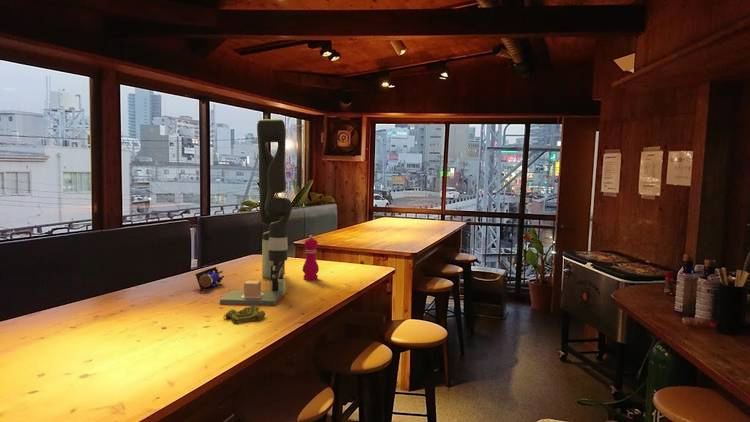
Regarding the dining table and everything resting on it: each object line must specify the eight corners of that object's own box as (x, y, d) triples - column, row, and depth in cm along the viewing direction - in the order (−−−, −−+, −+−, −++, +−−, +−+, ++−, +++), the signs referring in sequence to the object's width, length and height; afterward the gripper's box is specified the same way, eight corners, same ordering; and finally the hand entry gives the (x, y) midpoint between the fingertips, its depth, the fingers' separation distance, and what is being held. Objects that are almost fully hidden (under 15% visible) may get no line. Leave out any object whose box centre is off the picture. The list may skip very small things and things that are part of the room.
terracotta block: (247, 293, 187) (247, 280, 187) (260, 293, 187) (260, 280, 187) (243, 296, 182) (244, 283, 182) (257, 297, 182) (257, 283, 182)
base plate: (231, 294, 192) (231, 290, 192) (282, 295, 191) (283, 291, 191) (219, 303, 178) (219, 299, 178) (274, 305, 178) (274, 300, 177)
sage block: (273, 291, 199) (273, 278, 199) (285, 291, 199) (285, 279, 199) (270, 294, 194) (270, 281, 194) (283, 294, 194) (283, 281, 194)
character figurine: (226, 284, 210) (207, 292, 195) (211, 281, 211) (191, 290, 197) (227, 266, 209) (208, 273, 195) (212, 264, 211) (192, 271, 196)
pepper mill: (300, 277, 224) (301, 234, 222) (315, 276, 227) (316, 233, 225) (305, 281, 217) (305, 236, 216) (320, 280, 220) (321, 235, 219)
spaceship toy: (274, 311, 172) (274, 300, 172) (255, 326, 154) (255, 315, 154) (240, 309, 174) (240, 299, 174) (217, 324, 156) (217, 313, 156)
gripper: (283, 251, 188) (283, 293, 189) (291, 246, 202) (290, 285, 203) (264, 250, 188) (263, 292, 189) (272, 245, 202) (272, 284, 203)
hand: (277, 288), depth 196 cm, fingers open, 8 cm apart
